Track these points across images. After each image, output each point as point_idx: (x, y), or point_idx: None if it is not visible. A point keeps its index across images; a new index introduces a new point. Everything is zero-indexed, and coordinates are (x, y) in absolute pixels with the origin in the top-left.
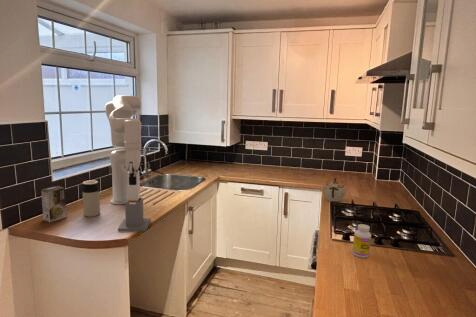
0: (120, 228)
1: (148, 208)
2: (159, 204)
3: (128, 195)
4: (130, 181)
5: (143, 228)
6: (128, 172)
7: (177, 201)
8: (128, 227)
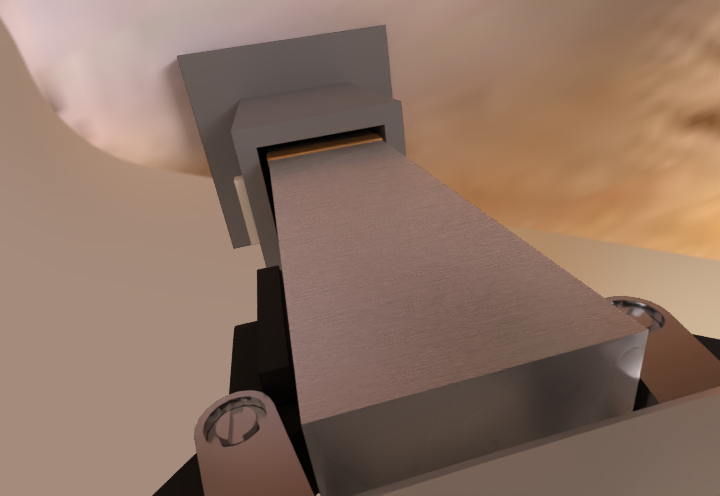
0: (185, 76)
1: (621, 109)
2: (684, 156)
3: (272, 177)
4: (233, 347)
5: (229, 233)
6: (309, 450)
7: (713, 244)
8: (219, 129)
